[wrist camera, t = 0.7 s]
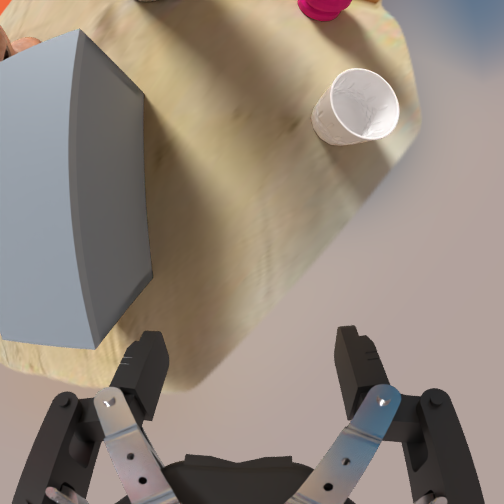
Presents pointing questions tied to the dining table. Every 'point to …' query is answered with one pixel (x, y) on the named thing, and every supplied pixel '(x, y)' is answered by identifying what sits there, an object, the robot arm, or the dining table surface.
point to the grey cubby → (70, 194)
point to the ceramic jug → (14, 45)
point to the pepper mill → (323, 8)
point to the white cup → (356, 109)
